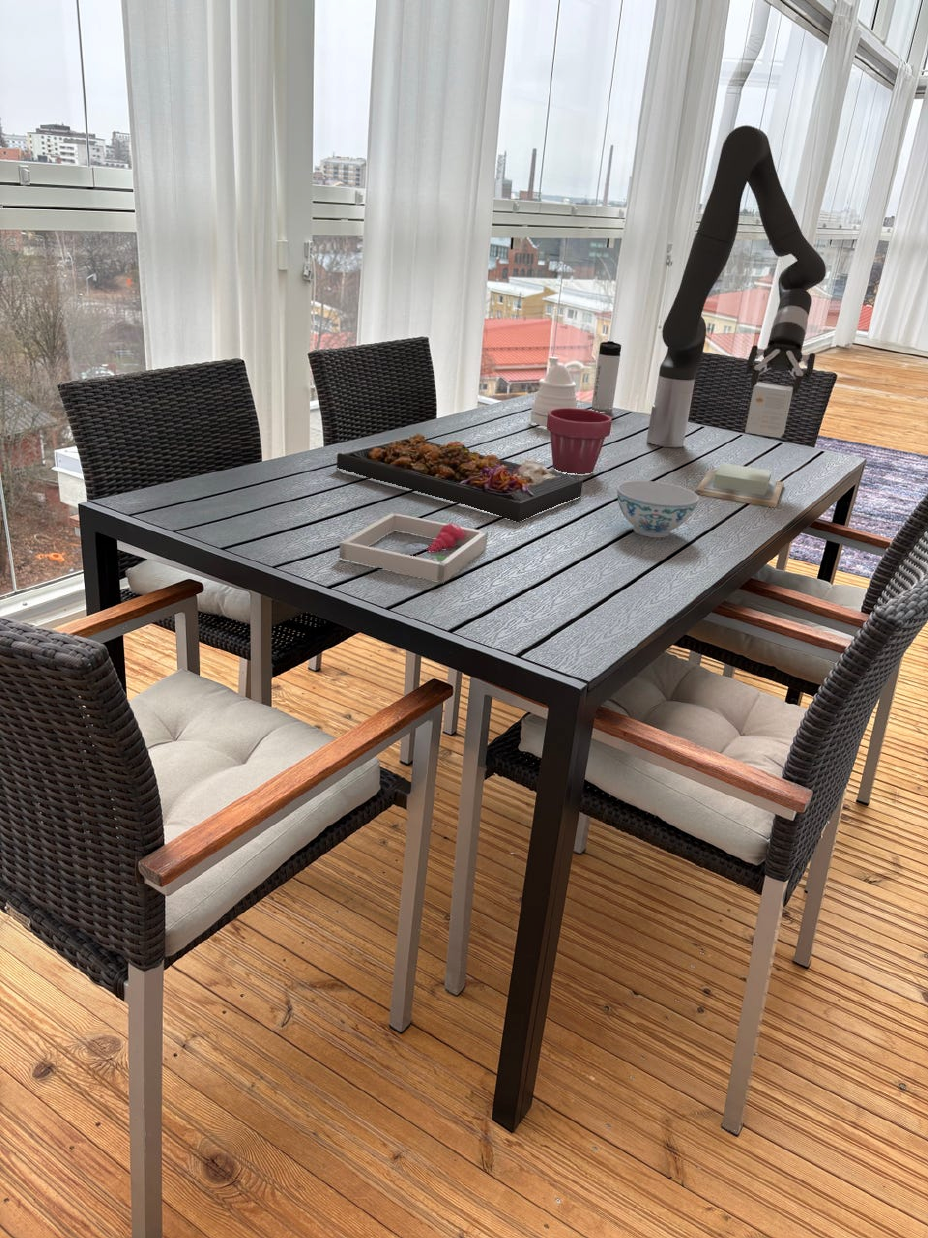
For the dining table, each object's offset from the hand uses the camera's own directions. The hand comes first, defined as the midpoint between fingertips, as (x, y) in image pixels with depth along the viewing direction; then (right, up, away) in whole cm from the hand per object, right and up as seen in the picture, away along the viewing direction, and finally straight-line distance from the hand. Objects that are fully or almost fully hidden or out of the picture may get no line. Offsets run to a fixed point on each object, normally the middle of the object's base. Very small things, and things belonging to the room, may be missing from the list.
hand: (774, 390), depth 210 cm
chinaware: (-33, -34, -31) cm, 57 cm away
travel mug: (-28, +11, +73) cm, 79 cm away
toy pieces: (-74, -40, -51) cm, 99 cm away
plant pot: (-44, -17, +6) cm, 47 cm away
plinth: (-7, -22, +2) cm, 23 cm away
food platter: (-70, -23, -12) cm, 75 cm away
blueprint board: (-7, -22, +2) cm, 23 cm away
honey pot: (-44, +2, +49) cm, 66 cm away
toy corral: (-77, -40, -53) cm, 102 cm away
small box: (-2, -9, +2) cm, 10 cm away
